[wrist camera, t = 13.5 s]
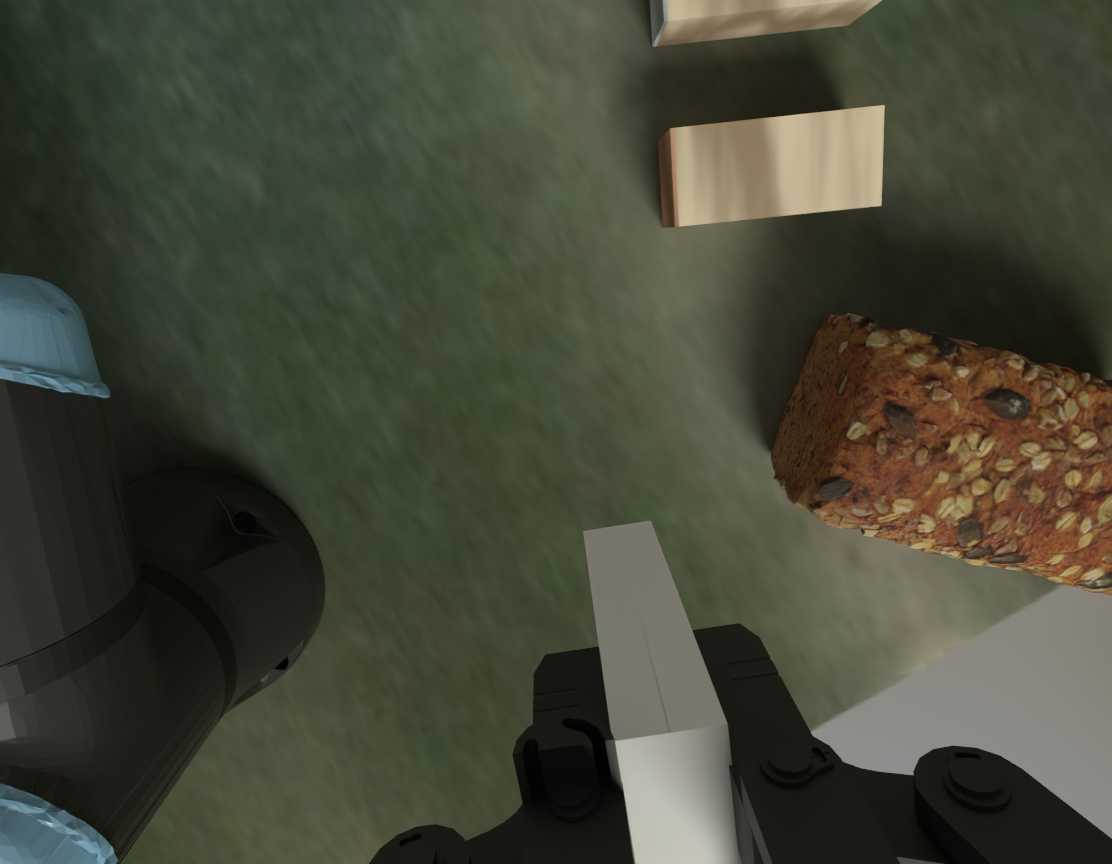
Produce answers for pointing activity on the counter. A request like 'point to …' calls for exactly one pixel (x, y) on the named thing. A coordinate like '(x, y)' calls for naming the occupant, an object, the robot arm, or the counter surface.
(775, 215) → the light wood tall block
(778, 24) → the light wood rectangular bar
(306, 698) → the counter surface
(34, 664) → the robot arm
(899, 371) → the bread
